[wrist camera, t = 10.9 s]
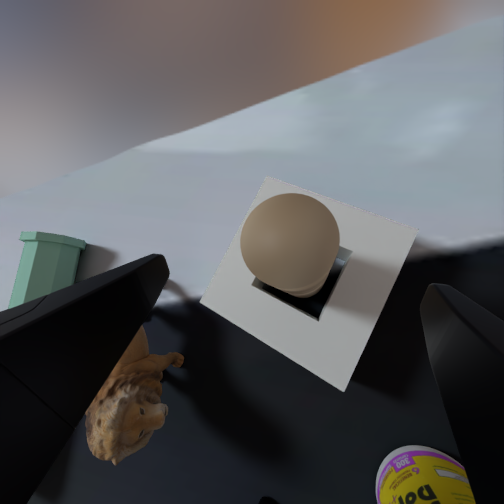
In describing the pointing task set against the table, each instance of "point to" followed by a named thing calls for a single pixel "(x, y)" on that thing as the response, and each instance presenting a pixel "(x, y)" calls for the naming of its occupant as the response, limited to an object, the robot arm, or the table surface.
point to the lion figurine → (129, 402)
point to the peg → (291, 243)
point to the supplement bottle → (422, 478)
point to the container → (45, 265)
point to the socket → (339, 301)
